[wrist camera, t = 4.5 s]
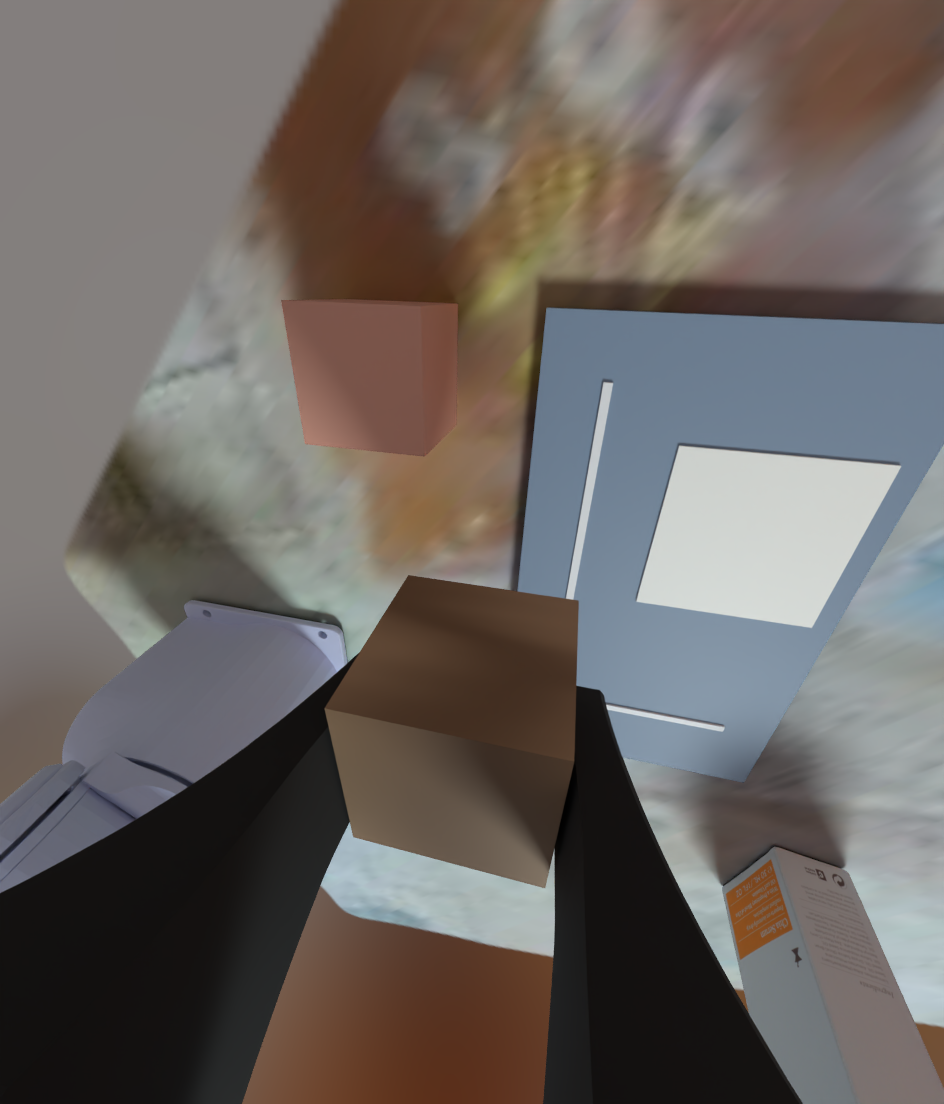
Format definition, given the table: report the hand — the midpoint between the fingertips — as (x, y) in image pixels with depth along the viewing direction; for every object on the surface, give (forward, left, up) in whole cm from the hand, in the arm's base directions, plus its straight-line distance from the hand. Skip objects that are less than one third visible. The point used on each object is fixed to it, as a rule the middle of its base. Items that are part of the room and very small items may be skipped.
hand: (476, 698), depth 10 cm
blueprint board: (+6, -2, -10) cm, 12 cm away
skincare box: (+17, -21, -10) cm, 29 cm away
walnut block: (0, 0, -2) cm, 2 cm away
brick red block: (-5, +6, -10) cm, 12 cm away
